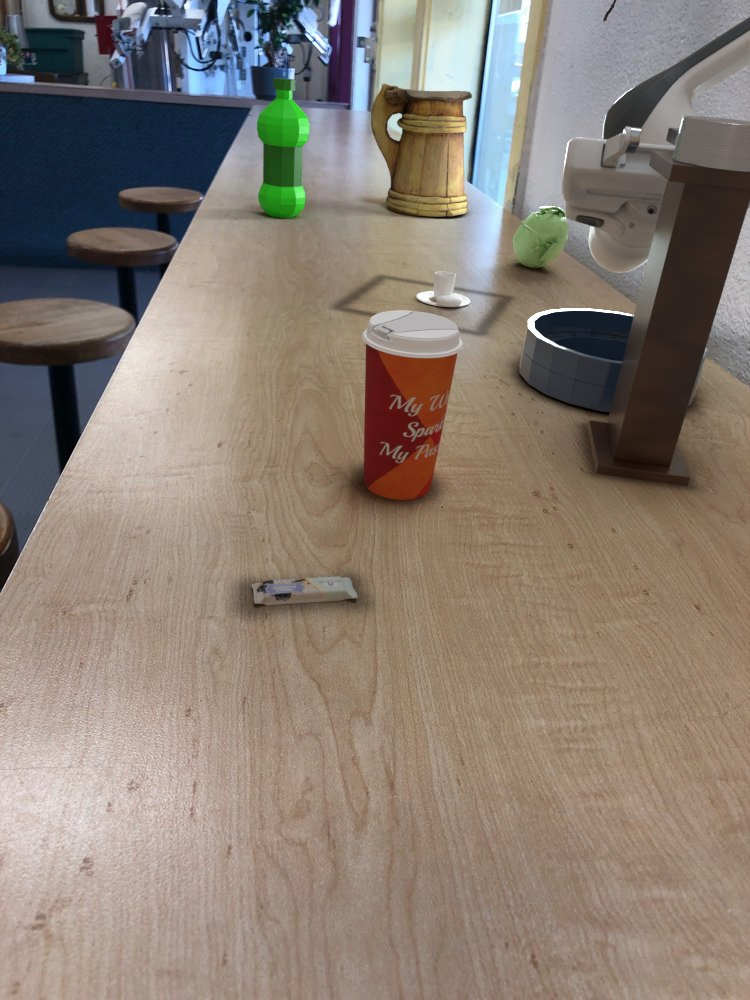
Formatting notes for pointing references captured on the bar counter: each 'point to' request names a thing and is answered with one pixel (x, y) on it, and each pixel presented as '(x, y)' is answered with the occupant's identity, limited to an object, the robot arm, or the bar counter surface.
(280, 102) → the plastic bottle
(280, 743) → the bar counter surface
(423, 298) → the teacup and saucer
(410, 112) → the tankard
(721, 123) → the grey block
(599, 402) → the bowl
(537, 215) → the green cabbage
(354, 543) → the bar counter surface
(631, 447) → the wooden post stand
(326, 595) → the granola bar
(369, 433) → the paper cup
